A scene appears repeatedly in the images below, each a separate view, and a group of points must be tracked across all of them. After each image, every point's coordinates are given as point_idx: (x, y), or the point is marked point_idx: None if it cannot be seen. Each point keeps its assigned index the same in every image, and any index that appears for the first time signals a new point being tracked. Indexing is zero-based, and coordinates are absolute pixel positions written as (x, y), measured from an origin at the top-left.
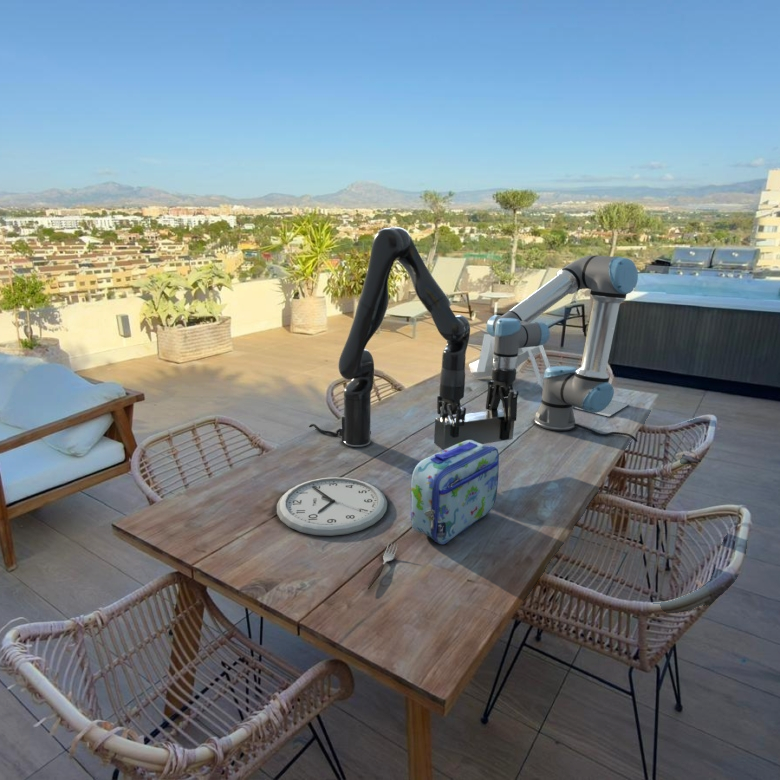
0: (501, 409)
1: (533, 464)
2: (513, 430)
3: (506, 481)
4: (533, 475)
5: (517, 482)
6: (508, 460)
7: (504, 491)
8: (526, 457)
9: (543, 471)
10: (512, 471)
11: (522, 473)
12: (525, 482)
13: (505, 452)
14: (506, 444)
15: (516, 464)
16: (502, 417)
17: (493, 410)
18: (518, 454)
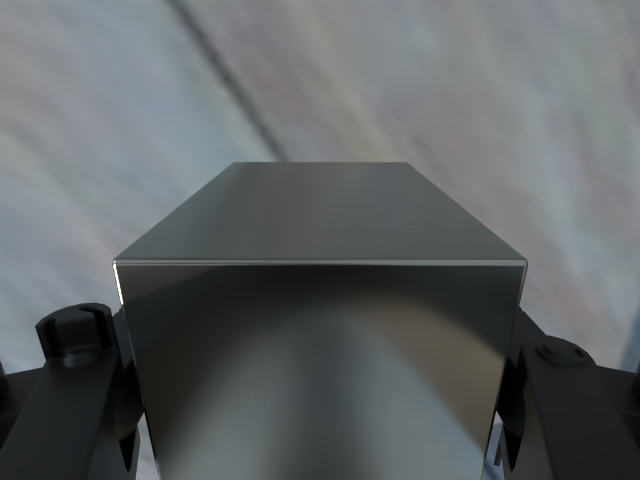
0: (146, 326)
1: (500, 38)
2: (430, 181)
3: (565, 308)
4: (604, 143)
5: (604, 269)
6: (381, 158)
7: (624, 362)
8: (394, 9)
9: (608, 44)
10: (502, 222)
11: (550, 186)
12: (630, 234)
13: (273, 102)
14: (150, 4)
15: (446, 146)
16: (476, 473)
17: (168, 465)
18: (331, 33)
